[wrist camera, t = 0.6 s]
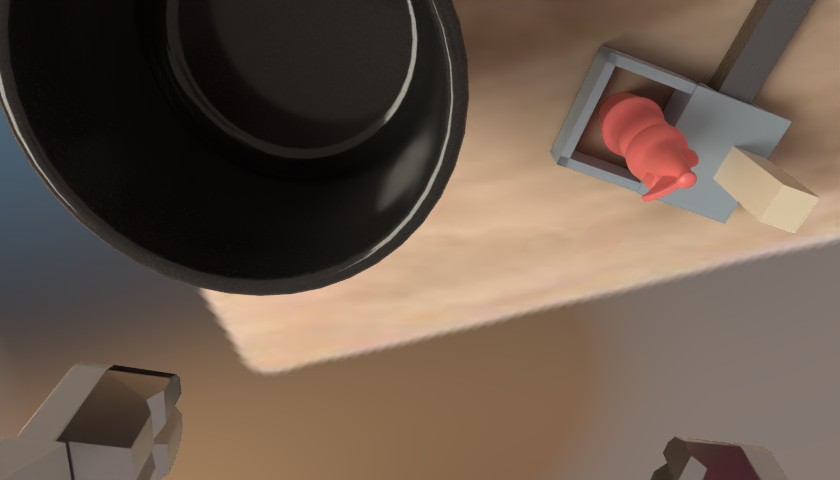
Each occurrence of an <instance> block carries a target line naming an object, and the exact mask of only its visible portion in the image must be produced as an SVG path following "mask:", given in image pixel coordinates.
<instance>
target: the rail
mask: <svg viewBox="0 0 840 480" xmlns="http://www.w3.org/2000/svg"><path fill="white" fill-rule="evenodd" d="M814 1H815V0H757V2H756V4H755V5H754V7H753V9H752V10H751V12H750V14H749V16H748V17H747V19H746V21H745V23H744V24H743V26H742V28H741V30H740V31H739V33H738V35H737V36H736V38H735V40H734V42H733V43H732V45H731V47H730V49H729V50H728V52H727V54H726V56H725V57H724V59H723V61H722V63H721V64H720V66H719V68H718V69H717V71H716V73H715V75H714V76H713V78H712V80H711V82H710V83H709V85H708V86H709V87H710V88H712V89H713V90H715V91H717V92H720V93H722V94H725V95H728V96H730V97H733V98H736V99H738V100H741V101H743V102H746V103H749V104H751V103H752V101H753V100H754V98H755V96H756V95H757V93H758V91H759V90H760V88H761V87H762V85H763V83H764V82H765V80H766V79H767V77H768V75H769V74H770V72H771V70H772V69H773V67H774V66H775V64H776V62H777V61H778V59H779V58H780V56H781V54H782V53H783V51H784V49H785V48H786V46H787V45H788V43H789V41H790V40H791V38H792V37H793V35H794V33H795V32H796V30H797V28H798V27H799V25H800V24H801V22H802V20H803V19H804V17H805V16H806V14H807V12H808V11H809V9H810V7H811V6H812V4H813V3H814Z"/></svg>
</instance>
